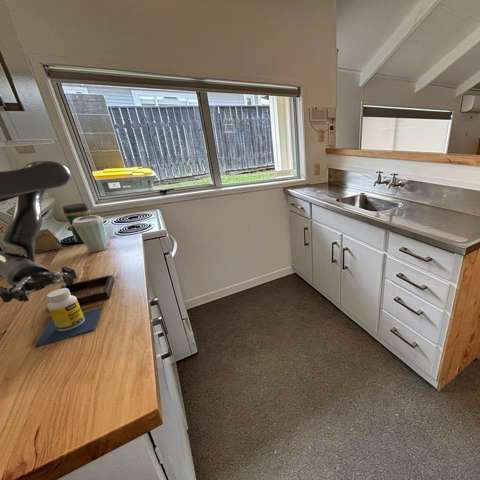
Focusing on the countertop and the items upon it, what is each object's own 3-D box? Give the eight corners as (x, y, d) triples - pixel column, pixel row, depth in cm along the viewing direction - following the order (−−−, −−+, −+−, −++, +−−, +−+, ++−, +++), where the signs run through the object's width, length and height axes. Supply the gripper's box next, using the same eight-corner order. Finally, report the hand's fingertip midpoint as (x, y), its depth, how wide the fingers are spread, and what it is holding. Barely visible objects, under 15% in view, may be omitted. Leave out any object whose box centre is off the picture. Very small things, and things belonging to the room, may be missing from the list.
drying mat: (34, 347, 60) (34, 346, 60) (50, 321, 69) (50, 320, 69) (94, 330, 65) (94, 329, 65) (102, 308, 74) (101, 307, 74)
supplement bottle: (76, 330, 65) (61, 297, 61) (51, 333, 64) (35, 299, 61) (90, 316, 70) (77, 285, 66) (67, 319, 69) (53, 287, 66)
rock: (21, 252, 109) (51, 244, 113) (17, 234, 111) (46, 227, 115) (38, 258, 119) (65, 251, 123) (34, 242, 121) (61, 235, 125)
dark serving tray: (51, 313, 72) (48, 305, 72) (65, 292, 83) (62, 285, 82) (109, 298, 79) (106, 291, 78) (114, 281, 89) (112, 274, 88)
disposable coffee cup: (115, 248, 118) (104, 217, 112) (84, 256, 110) (72, 222, 105) (109, 243, 124) (99, 213, 119) (80, 250, 117) (68, 218, 111)
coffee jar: (98, 235, 135) (86, 201, 129) (101, 239, 130) (88, 203, 124) (74, 240, 129) (60, 204, 122) (76, 244, 124) (61, 207, 117)
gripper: (-18, 274, 66) (0, 290, 59) (55, 254, 78) (78, 265, 70) (-4, 299, 69) (15, 317, 61) (65, 276, 80) (88, 288, 73)
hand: (49, 289), depth 66 cm, fingers open, 8 cm apart
